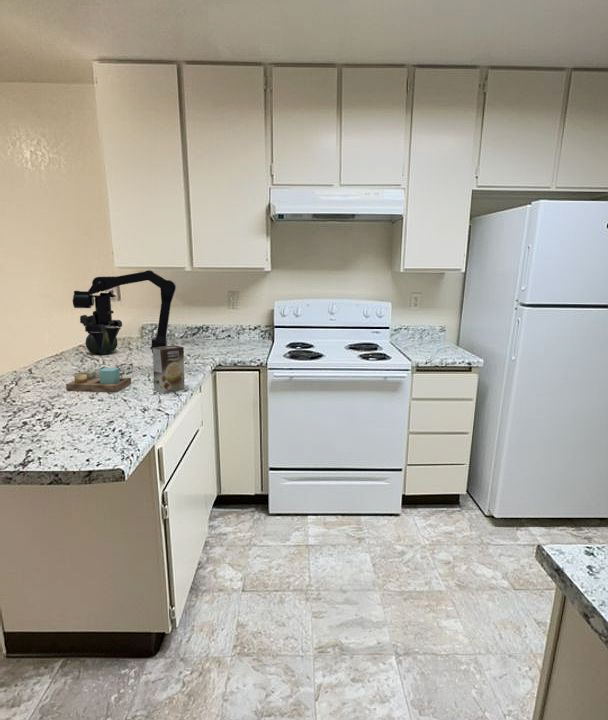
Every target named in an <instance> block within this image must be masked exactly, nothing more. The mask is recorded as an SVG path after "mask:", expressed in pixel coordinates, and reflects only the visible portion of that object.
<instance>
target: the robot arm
mask: <svg viewBox="0 0 608 720" xmlns="http://www.w3.org/2000/svg"><path fill="white" fill-rule="evenodd" d="M145 281H149V282H150V283H152V284H153V285H155V286H156V287H157V288H159V289H160V299H161V300H160V301H161V304H160V310H159V317H158V319H159V320H158V326H157V333H156V336H155V337H152V338H151V346H150V348H149V349H150V350H151V354H153V347H163V346H168V336H167V333H168V327H169V320H170V319H169V318H170V313H171V305H172V302H173V298H174V296H175V292H176V289H177V285H176V283H175V282H174V281H172V280H170V279H167V280H166V279H165V278H163V277H162V276H161V275H159V274H158V273H155V272H154V271H153V270H150V269H148V270H146V271H141V272H134V273H129V274H123V275H117V276H97V277H94V278H93V280H92V281H91V284H92V285H91V287H90V288H89V289H88V290H85V291H81V290H74V291H73V295H72V305H73V308H74V309H91V308H92V307H93V306H94V308H95V310H93V311H92V315H89V316H88V315H87V314H82V315H80V317H79V323H80V324H82V325H83V327H84V332H87V334H88V335H89V334H91V335H92V336H93V337H94V339H95V341H96V343H97V346H98V348H99V349H102V346H103V342H104V338H105V333H106V332H103V331H105V330H106V331H107V332H108V338H109V343H110V345H113V343H114V341H115V339H116V338H117V336H118V334H119V332H120V330H121V327H123V321H121V320H120V319H112V318H113V316H112V314H114V313H115V311H114V310H112V304H111V303H112V302H111V301H112V300H111V299H112V298H116V297H117V296H116V294H115V293H113V292H112V291H111V289H114V288H117V287H120V286H124V285H128V284H135V283H140V282H145ZM109 290H110V291H109ZM106 291H108V292H106ZM98 293H99V295H98ZM96 294H97V295H96Z"/></svg>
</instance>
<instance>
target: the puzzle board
mask: <svg viewBox="0 0 608 720" xmlns="http://www.w3.org/2000/svg"><path fill="white" fill-rule="evenodd" d="M73 376H74V377H73V378H74V380H72V381H70V382H68V383H66V384H65V389H66V392H85V393H86V392H87V393H89V392H91V393H113V392H117V393H119V392H120V391H121V390H123V389H125V388H127V387H128V386H131V384H132V377H129V376H128V377H126V376H125V377H124V376H122V377H121V376H120V382H119V383H117V384H100V375H99V376H96V371H95V370H85V371H83V372H80V373H79V374H75V375H73Z"/></svg>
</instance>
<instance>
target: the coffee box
mask: <svg viewBox="0 0 608 720" xmlns="http://www.w3.org/2000/svg"><path fill="white" fill-rule="evenodd" d="M184 349H185V348H184V347H183V346H179V345H176V344H175V345H174V344H172V345H167V346H163V347H153V353H152V363H153V365H152V367H153V368H152V369H153V372H152V373H153V391H154V392H158V393H161V394H167V393H171V392H176V391H177V392H178V391H182V390H185V357H184V356H185V354H184V353H185V352H184V351H185V350H184Z"/></svg>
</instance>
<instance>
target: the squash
mask: <svg viewBox="0 0 608 720" xmlns="http://www.w3.org/2000/svg"><path fill="white" fill-rule="evenodd" d="M103 332H106V333H105V338H104V342H103V346H102V349H99V348H98V346H97V343H96V341H95V339H94V337H93V336H92V335H91V334H89V333H88V335H87V336H86V338H85V347H86V349H87V350H88V352H89V353H91V354H98V353H99V354H100V355H102V356H105V355H106V354H111V353H112V352H114V351H115V350H116V349H117V347H118V339H117V337H116V339H115V341H114V343H113V345H110V343H109V338H108V332H107V331H106V330H105V331H103Z"/></svg>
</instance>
